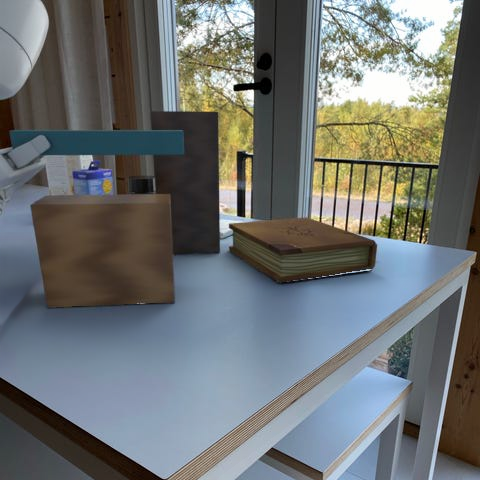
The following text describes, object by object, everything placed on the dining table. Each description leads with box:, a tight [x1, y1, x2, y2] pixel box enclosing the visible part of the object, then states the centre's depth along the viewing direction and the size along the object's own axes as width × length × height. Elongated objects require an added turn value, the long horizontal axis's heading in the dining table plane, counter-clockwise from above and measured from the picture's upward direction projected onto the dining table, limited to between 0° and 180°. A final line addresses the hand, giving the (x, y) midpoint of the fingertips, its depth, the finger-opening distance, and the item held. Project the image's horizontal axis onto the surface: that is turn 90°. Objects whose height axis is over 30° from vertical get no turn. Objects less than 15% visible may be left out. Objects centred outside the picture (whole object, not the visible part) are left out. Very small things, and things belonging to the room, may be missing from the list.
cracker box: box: [44, 155, 94, 195], centre depth 144 cm, size 14×6×21 cm, turn 66°
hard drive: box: [220, 218, 243, 240], centre depth 112 cm, size 2×8×12 cm
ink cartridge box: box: [72, 160, 114, 195], centre depth 126 cm, size 10×6×14 cm, turn 154°
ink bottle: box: [127, 175, 156, 194], centre depth 113 cm, size 10×9×12 cm
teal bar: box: [9, 129, 184, 156], centre depth 63 cm, size 22×3×3 cm, turn 98°
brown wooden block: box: [29, 193, 176, 309], centre depth 69 cm, size 18×8×14 cm, turn 97°
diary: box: [228, 216, 378, 283], centre depth 89 cm, size 23×19×6 cm
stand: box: [150, 110, 221, 255], centre depth 93 cm, size 12×8×26 cm, turn 97°
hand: (51, 139), depth 63 cm, fingers closed on teal bar, 3 cm apart
